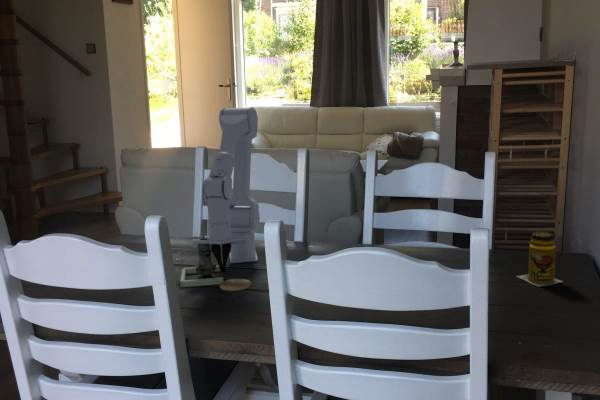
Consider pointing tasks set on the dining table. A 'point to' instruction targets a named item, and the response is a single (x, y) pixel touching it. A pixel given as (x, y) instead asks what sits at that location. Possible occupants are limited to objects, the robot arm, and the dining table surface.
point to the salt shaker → (205, 262)
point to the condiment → (541, 260)
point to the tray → (198, 281)
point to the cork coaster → (235, 284)
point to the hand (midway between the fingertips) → (222, 271)
